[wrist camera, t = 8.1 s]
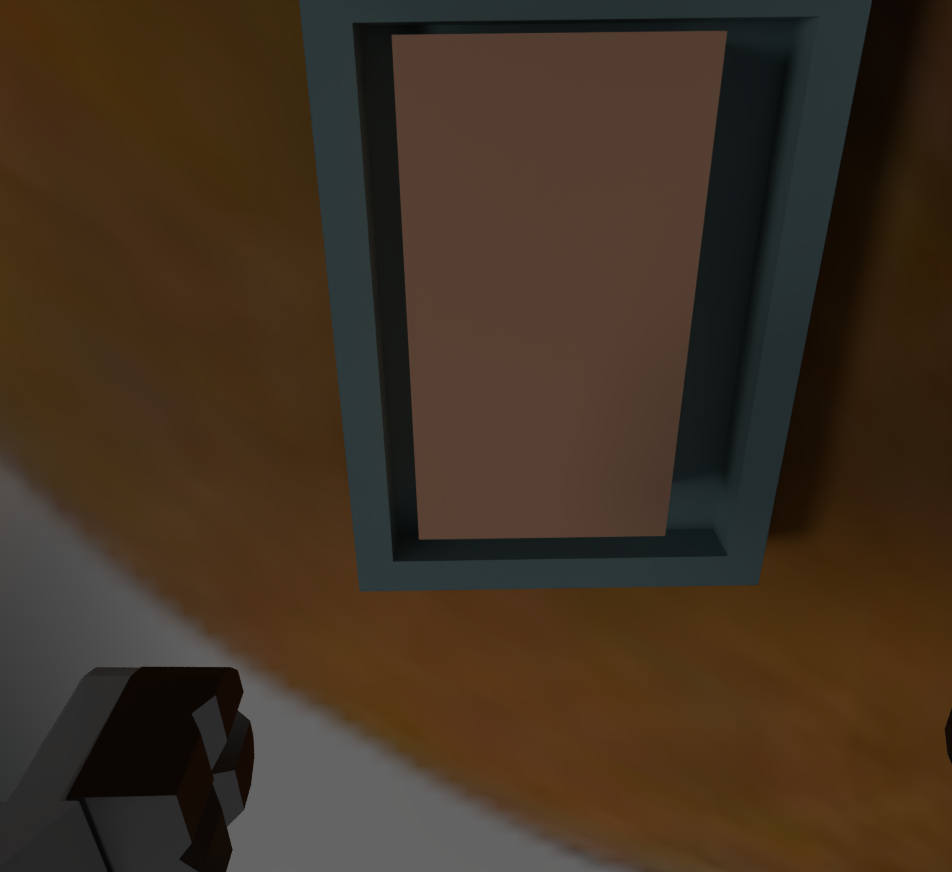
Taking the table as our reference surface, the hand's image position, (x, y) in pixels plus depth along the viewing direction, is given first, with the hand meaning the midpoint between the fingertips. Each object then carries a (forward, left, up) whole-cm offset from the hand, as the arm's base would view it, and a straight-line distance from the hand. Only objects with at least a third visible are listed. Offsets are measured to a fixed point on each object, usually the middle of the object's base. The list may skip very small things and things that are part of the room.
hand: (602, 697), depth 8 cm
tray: (-2, +1, -9) cm, 9 cm away
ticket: (-2, 0, -8) cm, 9 cm away
